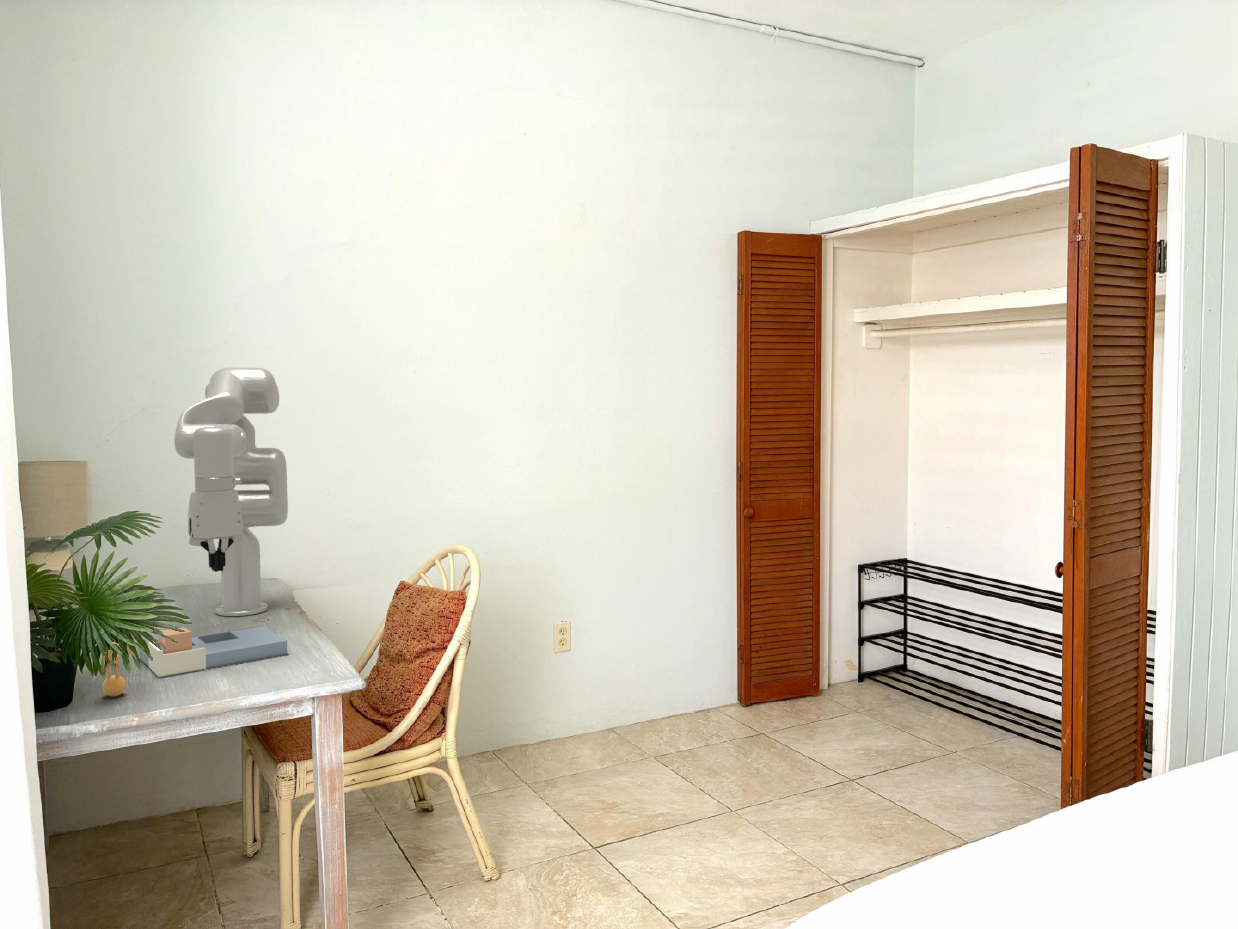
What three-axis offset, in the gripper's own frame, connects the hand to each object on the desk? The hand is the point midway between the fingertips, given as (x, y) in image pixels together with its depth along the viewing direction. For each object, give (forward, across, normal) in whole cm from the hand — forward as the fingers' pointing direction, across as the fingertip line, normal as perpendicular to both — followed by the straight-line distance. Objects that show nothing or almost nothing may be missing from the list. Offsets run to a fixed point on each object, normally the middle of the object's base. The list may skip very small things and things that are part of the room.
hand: (217, 570), depth 197 cm
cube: (+16, +9, +3) cm, 19 cm away
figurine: (+19, +23, +14) cm, 33 cm away
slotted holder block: (+19, +1, -2) cm, 19 cm away
